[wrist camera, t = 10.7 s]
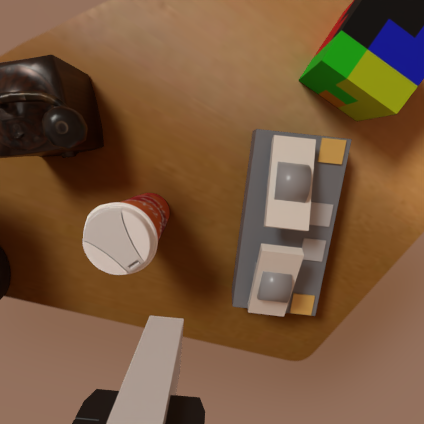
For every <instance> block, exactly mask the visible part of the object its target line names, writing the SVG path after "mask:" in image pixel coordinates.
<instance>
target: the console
mask: <svg viewBox="0 0 424 424" xmlns="http://www.w3.org/2000/svg"><path fill="white" fill-rule="evenodd" d="M274 135H280V136H289V137H298V138H308V139H316V145H315V158H314V170H313V183H312V195H311V208H310V221H309V231H298V230H289V229H280V228H271V227H264V218H265V207H266V197H267V186H268V176H269V165H270V155H271V144H272V138H273V136H274ZM351 140H352V139H344V138H335V137H325V136H316V135H307V134H297V133H288V132H279V131H270V130H260V129H256V130H254V131H253V134H252V141H251V149H250V156H249V164H248V172H247V179H246V187H245V194H244V202H243V209H242V217H241V224H240V232H239V239H238V247H237V255H236V262H235V270H234V277H233V285H232V304H233V306H234V307H242V308H248V300H249V296H250V291H251V287H252V282H253V278H254V273H255V269H256V264H257V260H258V255H259V251H260V246H261V243H262V244H271V245H280V246H288V247H297V248H302V250H303V254H304V257H303V260H302V263H301V266H300V269H299V272H298V276H297V279H296V282H295V285H294V288H293V291H292V294H291V297H290V300H289V303H288V306H287V309H286V312H285V313H293V314H301V315H310V316H315V314H316V309H317V304H318V299H319V295H320V290H321V285H322V280H323V275H324V270H325V266H326V261H327V256H328V251H329V246H330V241H331V237H332V232H333V227H334V222H335V217H336V212H337V207H338V203H339V198H340V193H341V188H342V183H343V178H344V174H345V169H346V164H347V159H348V154H349V149H350V145H351Z"/></svg>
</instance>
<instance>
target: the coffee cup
mask: <svg viewBox="0 0 424 424" xmlns="http://www.w3.org/2000/svg"><path fill="white" fill-rule="evenodd" d="M169 215H170V211H169V206H168V204H167V202H166V201H165V200H164V199H163V198H162V197H161V196H159V195H157V194H154V193H145V194H141V195H138V196H135V197H132V198H130V199H127V200H124V201H122V202H114V203H108V204H103V205H99V206H98V207H96V208H95V209H94V210H93V211H91V213H90V214H89V215H88V216H87V220H86V223H85V226H84V232H83V248H84V251H85V253H86V255H87V257H88V258H89V260H90V261H91V262H92V263H93V264H94V265H95V266H96V267H97V268H99V269H100V270H102V271H104V272H107V273H109V274H114V275H125V274H131V273H135V272H138V271H140V270H142V269H143V268H145V267H146V266H147V265H148V264H149V263H150V262H151V261H152V259H153V257H154V256H155V253H156V251H157V246H158V241H159V239H160V237H161V235H162V233H163V231H164V229H165V226H166V224H167V222H168V219H169Z"/></svg>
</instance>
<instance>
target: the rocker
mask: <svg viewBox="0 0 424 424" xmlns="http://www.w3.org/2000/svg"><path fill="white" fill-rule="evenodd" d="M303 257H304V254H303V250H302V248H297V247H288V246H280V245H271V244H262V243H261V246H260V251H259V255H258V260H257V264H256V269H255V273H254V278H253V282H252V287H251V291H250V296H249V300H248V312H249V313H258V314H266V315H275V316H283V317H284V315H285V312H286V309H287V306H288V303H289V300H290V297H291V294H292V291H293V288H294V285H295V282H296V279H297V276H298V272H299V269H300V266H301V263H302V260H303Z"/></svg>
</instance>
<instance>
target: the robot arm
mask: <svg viewBox="0 0 424 424" xmlns="http://www.w3.org/2000/svg"><path fill="white" fill-rule="evenodd" d="M9 283H10V267H9V263H8V260H7V257H6V255H5V253H4V251H3V250H2V248H1V247H0V299H1V298H2V297H3V296H4V295H5V293H6V291H7V289H8V287H9ZM183 322H184V319H181V318H170V317H159V316H149V319H148V321H147V324H146V326H145V329H144V331H143V334H142V336H141V339H140V341H139V344H138V346H137V349H136V351H135V354H134V356H133V359H132V361H131V364H130V366H129V369H128V371H127V374H126V376H125V378H124V381H123V383H122V386H121V388H120V391H112V390H102V389H96V390H95V391H94V392H93V393H92V394H91V395H90V396H89V397H88V398H87V399H86V400H85V401H84V402H83V404H82V406H81V408H80V410H79V412H78V413H77V415H76V419H75V420H74V421H73V423H72V424H204V422H205V410H204V408H203V405H202V402H201V400H200V398H197V397H188V396H177V395H176V390H177V384H178V379H179V373H180V362H181V349H182V335H183Z"/></svg>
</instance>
